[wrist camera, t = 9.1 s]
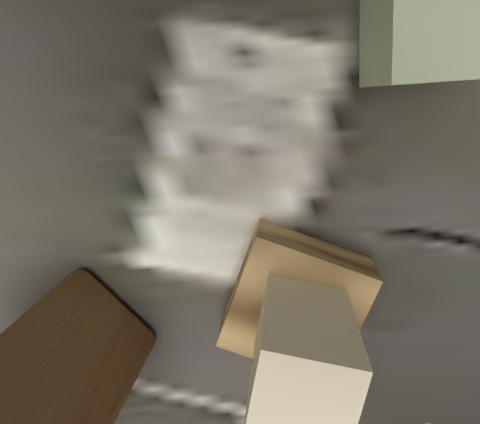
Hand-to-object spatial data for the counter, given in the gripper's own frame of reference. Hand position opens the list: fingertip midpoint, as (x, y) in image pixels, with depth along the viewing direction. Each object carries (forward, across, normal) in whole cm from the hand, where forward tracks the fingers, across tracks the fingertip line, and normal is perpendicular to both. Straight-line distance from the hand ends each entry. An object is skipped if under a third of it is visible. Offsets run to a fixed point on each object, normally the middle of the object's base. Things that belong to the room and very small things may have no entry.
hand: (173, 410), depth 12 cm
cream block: (+20, +6, -8) cm, 22 cm away
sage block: (+25, +9, +13) cm, 30 cm away
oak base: (+25, +6, -8) cm, 27 cm away
